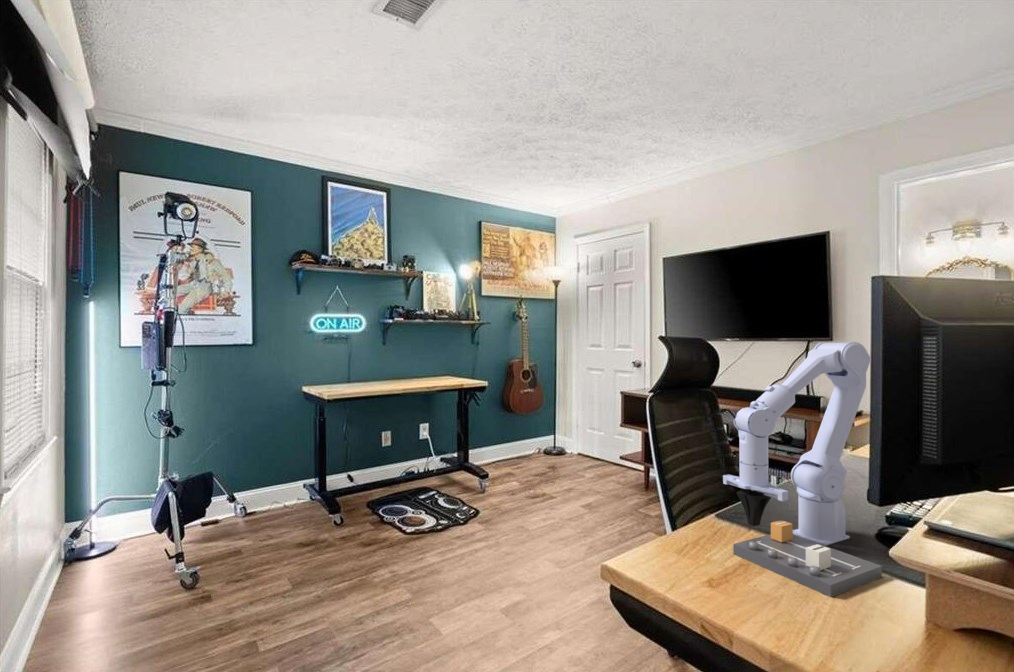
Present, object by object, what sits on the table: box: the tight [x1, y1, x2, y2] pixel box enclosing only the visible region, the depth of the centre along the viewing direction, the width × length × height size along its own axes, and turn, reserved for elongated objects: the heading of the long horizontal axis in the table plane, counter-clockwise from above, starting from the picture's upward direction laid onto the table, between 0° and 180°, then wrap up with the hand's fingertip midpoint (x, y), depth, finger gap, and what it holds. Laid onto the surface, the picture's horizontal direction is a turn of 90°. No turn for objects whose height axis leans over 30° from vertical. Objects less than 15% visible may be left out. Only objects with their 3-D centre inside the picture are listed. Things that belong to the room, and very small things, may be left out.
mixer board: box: [732, 533, 883, 598], centre depth 95 cm, size 16×19×3 cm
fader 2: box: [806, 544, 831, 570], centre depth 89 cm, size 4×2×3 cm, turn 117°
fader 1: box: [770, 519, 794, 542], centre depth 102 cm, size 4×2×3 cm, turn 117°
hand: (754, 524), depth 108 cm, fingers closed
